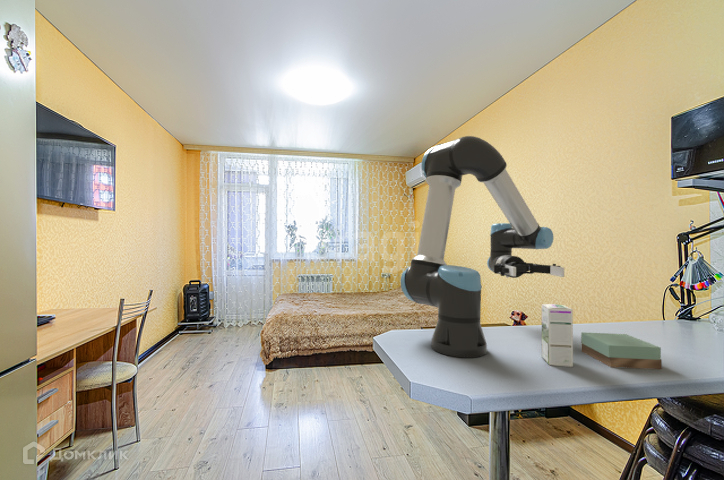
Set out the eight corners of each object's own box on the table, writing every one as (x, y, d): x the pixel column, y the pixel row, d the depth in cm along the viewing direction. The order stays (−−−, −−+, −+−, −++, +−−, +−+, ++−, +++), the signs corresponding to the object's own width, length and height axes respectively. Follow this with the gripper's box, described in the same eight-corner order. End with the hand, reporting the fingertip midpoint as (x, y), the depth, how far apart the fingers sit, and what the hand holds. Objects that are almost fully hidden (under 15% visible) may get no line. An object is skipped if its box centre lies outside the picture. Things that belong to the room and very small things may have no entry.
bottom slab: (610, 369, 82) (610, 357, 82) (581, 353, 94) (581, 343, 94) (661, 371, 81) (661, 359, 81) (625, 355, 93) (625, 344, 93)
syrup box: (573, 367, 81) (574, 308, 82) (547, 365, 83) (548, 307, 83) (564, 359, 87) (565, 304, 87) (540, 357, 88) (540, 303, 88)
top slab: (608, 357, 82) (608, 345, 82) (581, 342, 94) (581, 332, 94) (660, 359, 81) (660, 347, 81) (626, 344, 93) (626, 334, 93)
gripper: (546, 277, 116) (583, 285, 95) (474, 276, 118) (494, 284, 97) (546, 255, 116) (583, 259, 95) (474, 255, 118) (494, 258, 97)
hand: (538, 272), depth 96 cm, fingers open, 13 cm apart
